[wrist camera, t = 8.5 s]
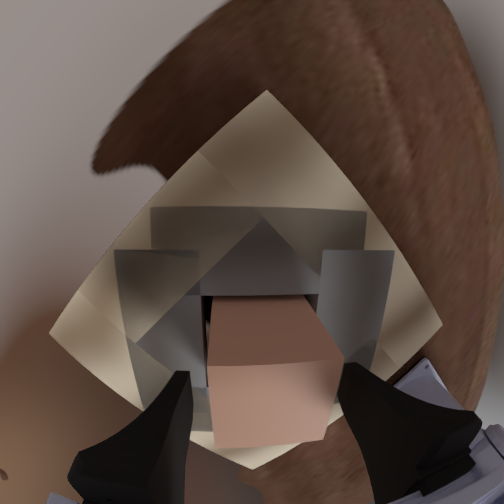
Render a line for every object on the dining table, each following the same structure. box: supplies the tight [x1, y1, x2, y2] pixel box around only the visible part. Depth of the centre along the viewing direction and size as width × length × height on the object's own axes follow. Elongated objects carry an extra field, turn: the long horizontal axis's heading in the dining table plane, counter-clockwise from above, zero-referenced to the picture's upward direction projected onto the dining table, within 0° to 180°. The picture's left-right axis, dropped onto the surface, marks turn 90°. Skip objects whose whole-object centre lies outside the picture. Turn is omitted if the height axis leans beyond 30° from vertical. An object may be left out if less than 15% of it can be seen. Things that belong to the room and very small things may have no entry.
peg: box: [207, 294, 344, 448], centre depth 14 cm, size 5×5×8 cm
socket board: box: [49, 90, 443, 469], centre depth 17 cm, size 19×19×2 cm
